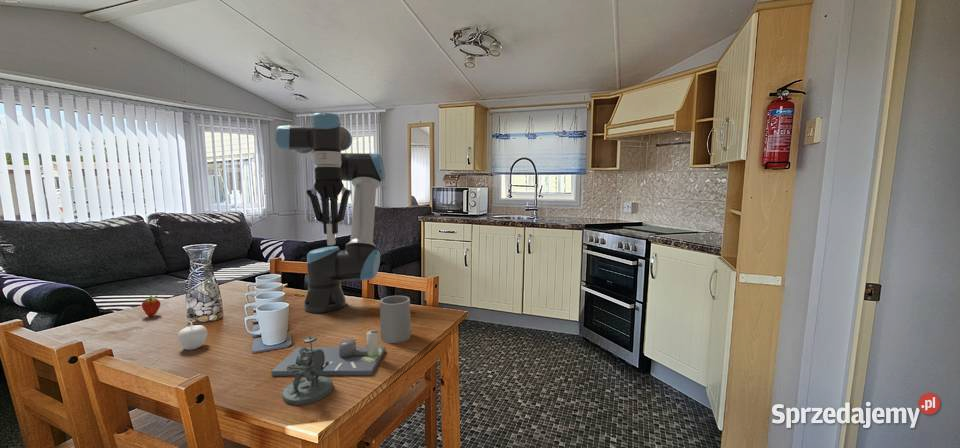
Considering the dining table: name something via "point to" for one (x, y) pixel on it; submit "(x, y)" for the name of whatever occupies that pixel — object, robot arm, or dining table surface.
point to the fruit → (151, 305)
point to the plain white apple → (192, 336)
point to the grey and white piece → (349, 349)
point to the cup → (395, 319)
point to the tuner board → (335, 362)
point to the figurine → (307, 377)
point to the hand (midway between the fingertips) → (331, 244)
